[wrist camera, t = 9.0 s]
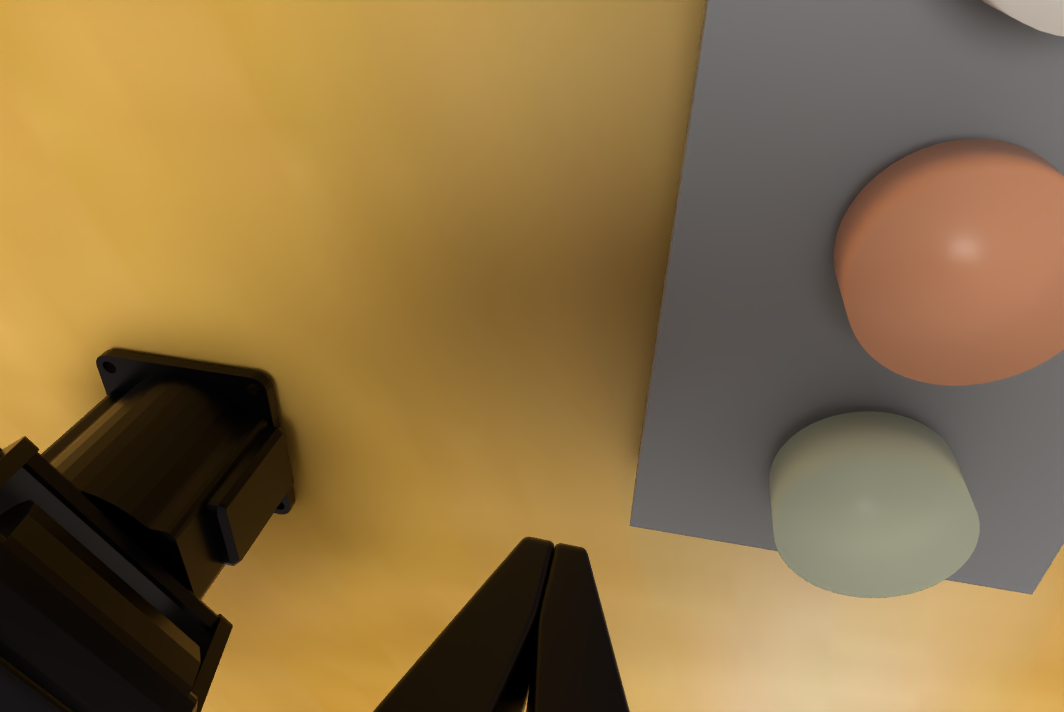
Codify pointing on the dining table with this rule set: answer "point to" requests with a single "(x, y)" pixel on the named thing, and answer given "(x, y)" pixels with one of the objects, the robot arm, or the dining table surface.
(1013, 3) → the button offwhite
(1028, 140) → the button panel
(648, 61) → the dining table surface
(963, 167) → the button terracotta
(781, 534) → the button sage
